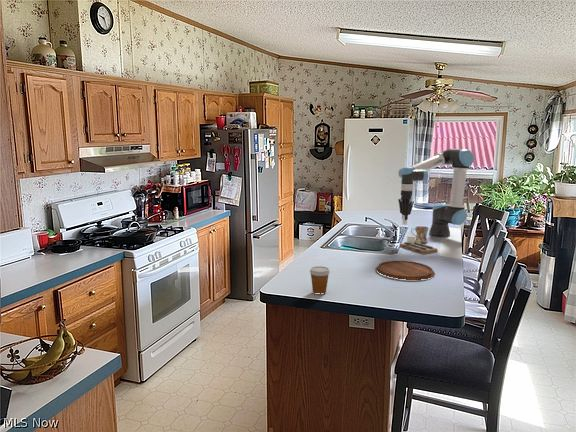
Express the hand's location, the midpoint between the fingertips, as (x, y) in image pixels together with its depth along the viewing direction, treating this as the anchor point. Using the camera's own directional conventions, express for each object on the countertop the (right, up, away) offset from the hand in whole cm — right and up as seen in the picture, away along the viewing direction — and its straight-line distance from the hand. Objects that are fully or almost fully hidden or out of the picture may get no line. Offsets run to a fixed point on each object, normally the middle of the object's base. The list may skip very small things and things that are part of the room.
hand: (404, 224), depth 311 cm
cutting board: (-15, -26, -58) cm, 65 cm away
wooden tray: (+7, -16, -9) cm, 20 cm away
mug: (+13, -13, +10) cm, 21 cm away
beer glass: (-65, -32, -91) cm, 116 cm away
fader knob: (+3, -13, -3) cm, 14 cm away
